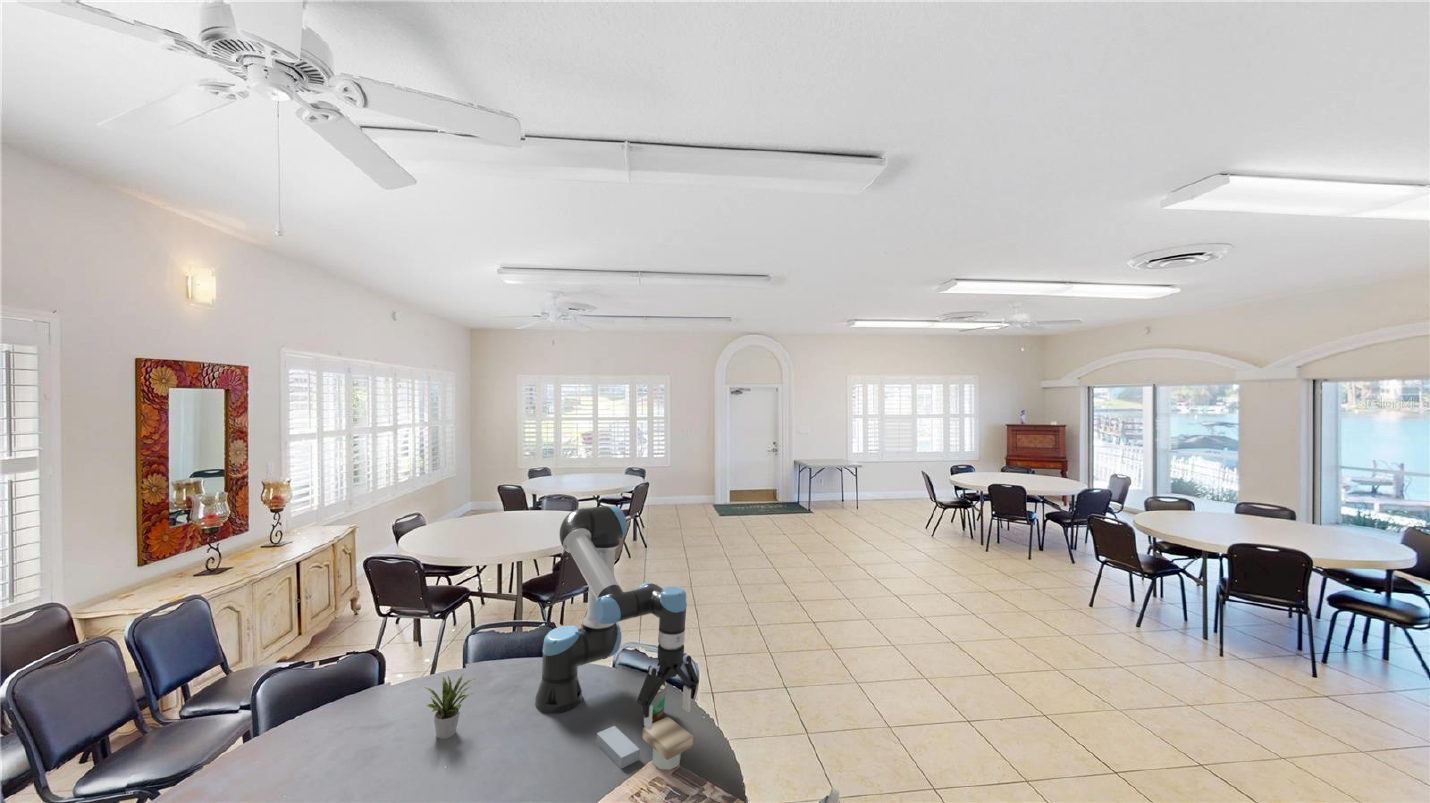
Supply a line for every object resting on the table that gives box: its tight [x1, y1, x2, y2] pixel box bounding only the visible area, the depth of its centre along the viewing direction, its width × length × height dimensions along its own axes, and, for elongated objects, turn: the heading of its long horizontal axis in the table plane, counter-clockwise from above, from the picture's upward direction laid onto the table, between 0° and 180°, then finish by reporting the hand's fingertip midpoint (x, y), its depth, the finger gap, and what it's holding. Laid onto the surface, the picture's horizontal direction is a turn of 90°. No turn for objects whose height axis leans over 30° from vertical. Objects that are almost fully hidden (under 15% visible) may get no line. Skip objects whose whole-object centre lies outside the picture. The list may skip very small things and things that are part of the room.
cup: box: [652, 747, 682, 771], centre depth 147 cm, size 8×8×5 cm
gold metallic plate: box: [642, 716, 694, 760], centre depth 147 cm, size 12×9×3 cm
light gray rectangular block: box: [596, 725, 641, 770], centre depth 150 cm, size 14×6×3 cm, turn 41°
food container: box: [642, 677, 669, 725], centre depth 168 cm, size 12×6×10 cm, turn 168°
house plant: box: [425, 673, 476, 740], centre depth 156 cm, size 14×14×16 cm
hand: (667, 718), depth 148 cm, fingers open, 13 cm apart
